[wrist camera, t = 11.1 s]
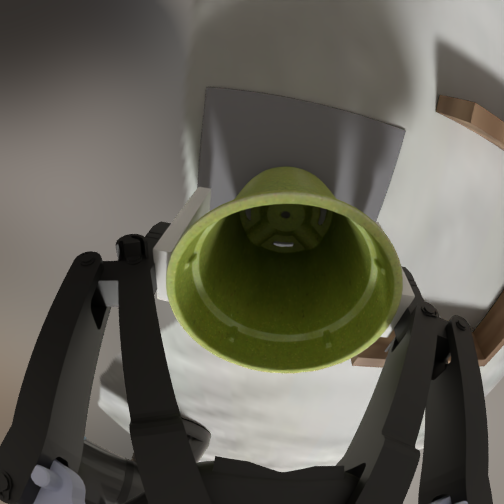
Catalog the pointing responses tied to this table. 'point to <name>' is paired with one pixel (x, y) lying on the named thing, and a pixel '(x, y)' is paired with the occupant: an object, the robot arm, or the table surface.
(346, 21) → the table surface
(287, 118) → the charcoal mat
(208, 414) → the table surface
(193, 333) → the plant pot
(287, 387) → the table surface
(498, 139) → the walnut bay
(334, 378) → the table surface
